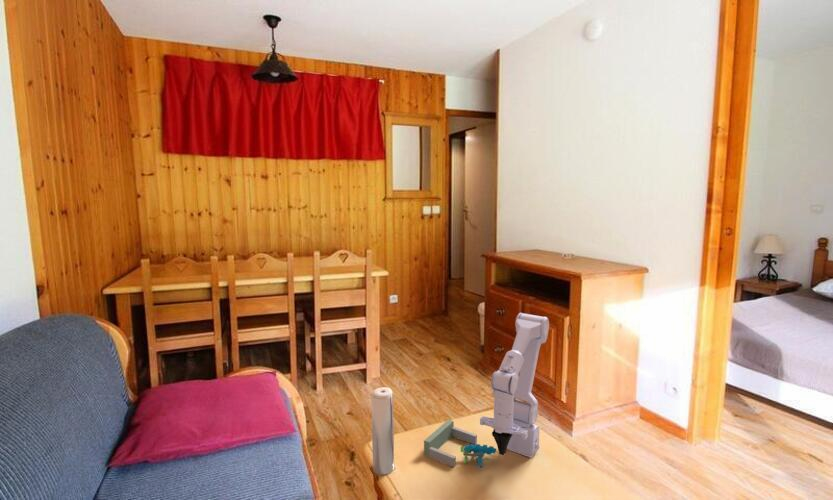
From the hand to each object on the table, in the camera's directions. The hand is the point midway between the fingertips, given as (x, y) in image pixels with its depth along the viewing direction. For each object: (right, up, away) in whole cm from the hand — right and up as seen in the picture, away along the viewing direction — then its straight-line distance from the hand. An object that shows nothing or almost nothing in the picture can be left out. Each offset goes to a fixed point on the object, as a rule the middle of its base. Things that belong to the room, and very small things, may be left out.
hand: (502, 453), depth 127 cm
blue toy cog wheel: (-7, -5, +5) cm, 10 cm away
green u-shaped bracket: (-14, -4, +10) cm, 18 cm away
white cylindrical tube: (-36, -6, +1) cm, 37 cm away
